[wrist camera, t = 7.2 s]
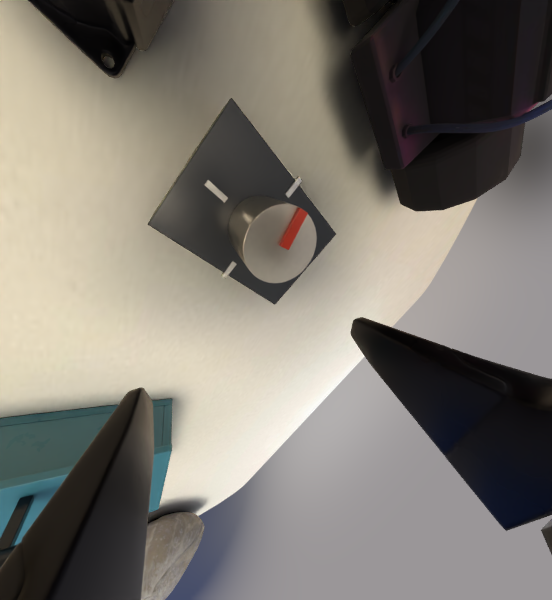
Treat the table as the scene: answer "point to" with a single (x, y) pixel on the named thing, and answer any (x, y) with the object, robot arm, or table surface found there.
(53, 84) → the table surface
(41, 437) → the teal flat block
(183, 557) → the decorative stone
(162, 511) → the table surface
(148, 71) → the table surface
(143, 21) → the robot arm
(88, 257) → the table surface
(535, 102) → the toy car
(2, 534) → the lid
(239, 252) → the dial
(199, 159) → the thermostat
